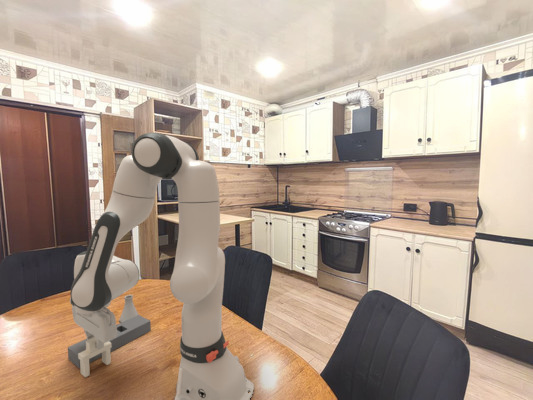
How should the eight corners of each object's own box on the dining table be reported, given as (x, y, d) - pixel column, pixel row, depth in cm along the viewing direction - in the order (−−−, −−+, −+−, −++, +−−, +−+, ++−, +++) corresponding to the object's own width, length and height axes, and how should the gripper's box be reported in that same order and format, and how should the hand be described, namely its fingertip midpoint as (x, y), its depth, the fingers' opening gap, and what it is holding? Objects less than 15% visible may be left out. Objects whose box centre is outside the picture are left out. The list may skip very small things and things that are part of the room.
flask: (130, 325, 102) (129, 301, 101) (115, 323, 104) (114, 299, 103) (142, 315, 109) (142, 293, 108) (128, 314, 111) (127, 291, 110)
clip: (112, 362, 81) (111, 333, 80) (83, 378, 74) (82, 347, 74) (107, 358, 83) (106, 330, 82) (79, 374, 76) (77, 344, 75)
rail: (150, 330, 98) (150, 320, 98) (79, 368, 78) (78, 356, 78) (138, 324, 103) (138, 314, 102) (68, 358, 82) (67, 347, 82)
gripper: (122, 306, 74) (123, 351, 75) (89, 289, 85) (91, 329, 86) (98, 315, 69) (100, 364, 70) (67, 297, 80) (69, 338, 81)
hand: (95, 344), depth 78 cm, fingers open, 4 cm apart
